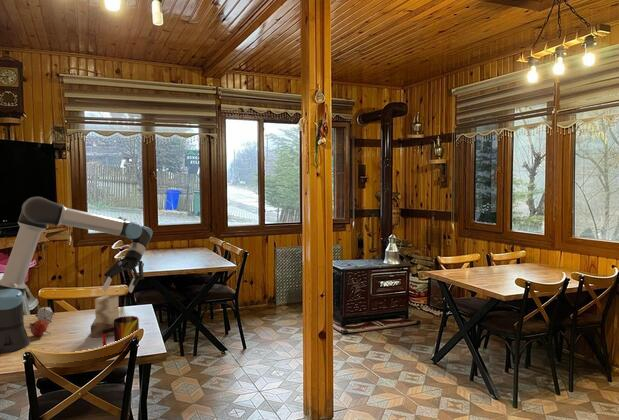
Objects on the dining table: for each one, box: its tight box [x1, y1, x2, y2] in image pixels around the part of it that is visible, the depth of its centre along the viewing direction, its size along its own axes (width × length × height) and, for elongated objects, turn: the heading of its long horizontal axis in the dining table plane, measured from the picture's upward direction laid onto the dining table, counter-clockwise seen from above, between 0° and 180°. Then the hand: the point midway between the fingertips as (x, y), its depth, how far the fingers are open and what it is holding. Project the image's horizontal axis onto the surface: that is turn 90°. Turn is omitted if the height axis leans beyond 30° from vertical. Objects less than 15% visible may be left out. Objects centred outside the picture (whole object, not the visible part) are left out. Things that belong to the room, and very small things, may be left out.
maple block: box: [94, 294, 120, 324], centre depth 211 cm, size 7×7×11 cm
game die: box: [34, 305, 55, 323], centre depth 228 cm, size 9×8×10 cm
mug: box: [102, 315, 140, 347], centre depth 191 cm, size 10×14×12 cm
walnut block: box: [90, 316, 124, 340], centre depth 211 cm, size 12×12×6 cm
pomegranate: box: [29, 319, 51, 338], centre depth 209 cm, size 7×7×10 cm
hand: (116, 290), depth 217 cm, fingers open, 13 cm apart
